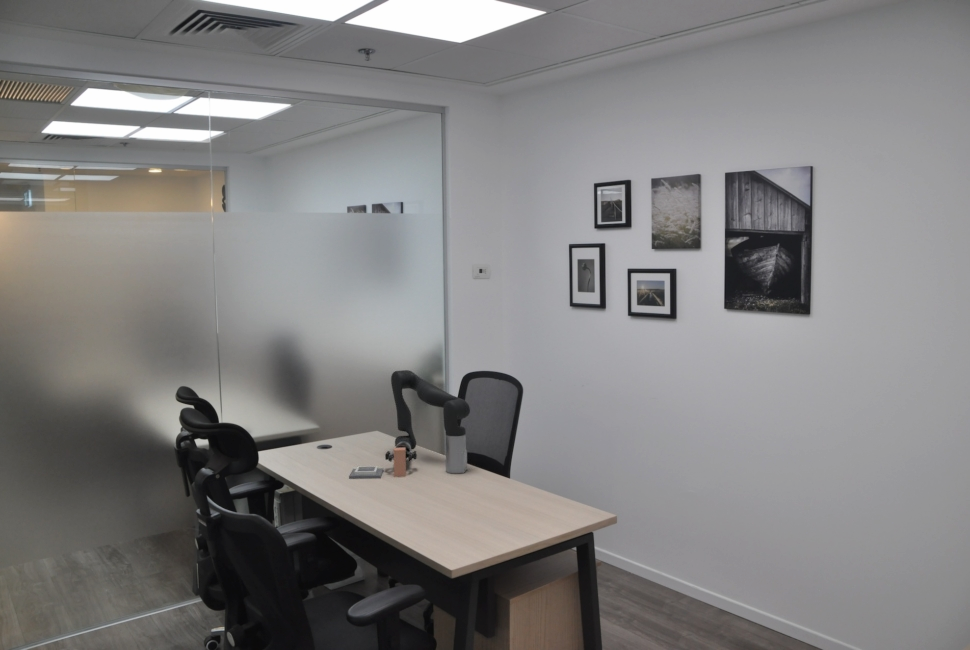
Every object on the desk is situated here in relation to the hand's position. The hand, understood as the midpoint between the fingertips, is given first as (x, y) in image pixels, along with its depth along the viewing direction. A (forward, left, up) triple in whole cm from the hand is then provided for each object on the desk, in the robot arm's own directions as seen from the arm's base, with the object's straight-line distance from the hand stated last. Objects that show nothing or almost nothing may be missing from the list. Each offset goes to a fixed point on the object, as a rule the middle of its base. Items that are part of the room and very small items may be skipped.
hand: (399, 459), depth 330 cm
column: (0, 0, -7) cm, 7 cm away
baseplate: (+15, +3, -7) cm, 17 cm away
